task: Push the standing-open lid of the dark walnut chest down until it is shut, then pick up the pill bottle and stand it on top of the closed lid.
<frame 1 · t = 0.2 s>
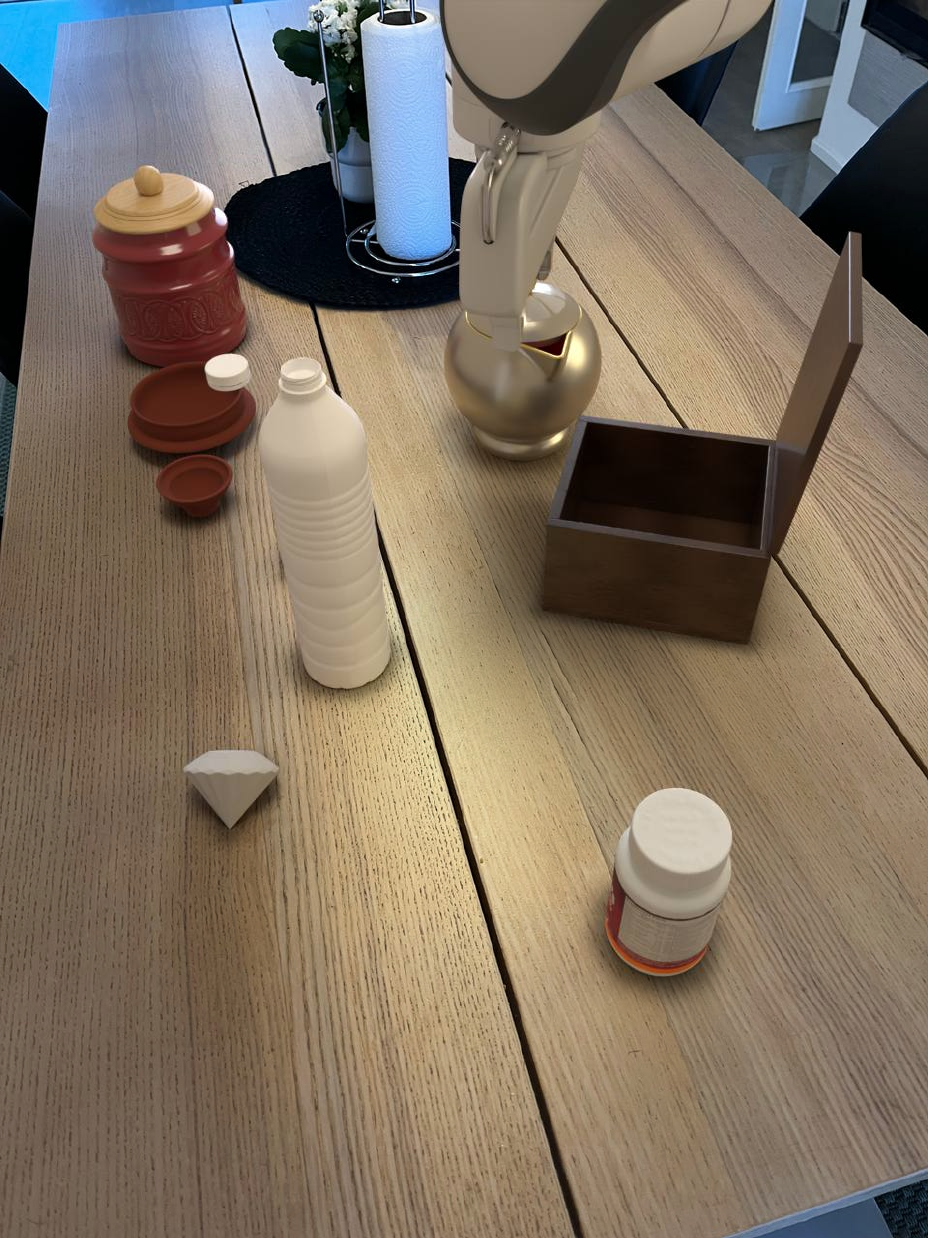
hand: (523, 308, 70), 21 cm above the table, tool pointing down, fingers open, 8 cm apart
pottery: (199, 459, 93), on the table
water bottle: (332, 658, 76), on the table
gemstone: (239, 797, 68), on the table
teapot: (514, 428, 95), on the table
pill bottle: (656, 932, 61), on the table
lid: (813, 396, 67), point 17 cm above the table, hinge at 95.0°
chest: (654, 567, 82), on the table
kitchen canister: (187, 337, 107), on the table
bracelet: (315, 557, 84), on the table
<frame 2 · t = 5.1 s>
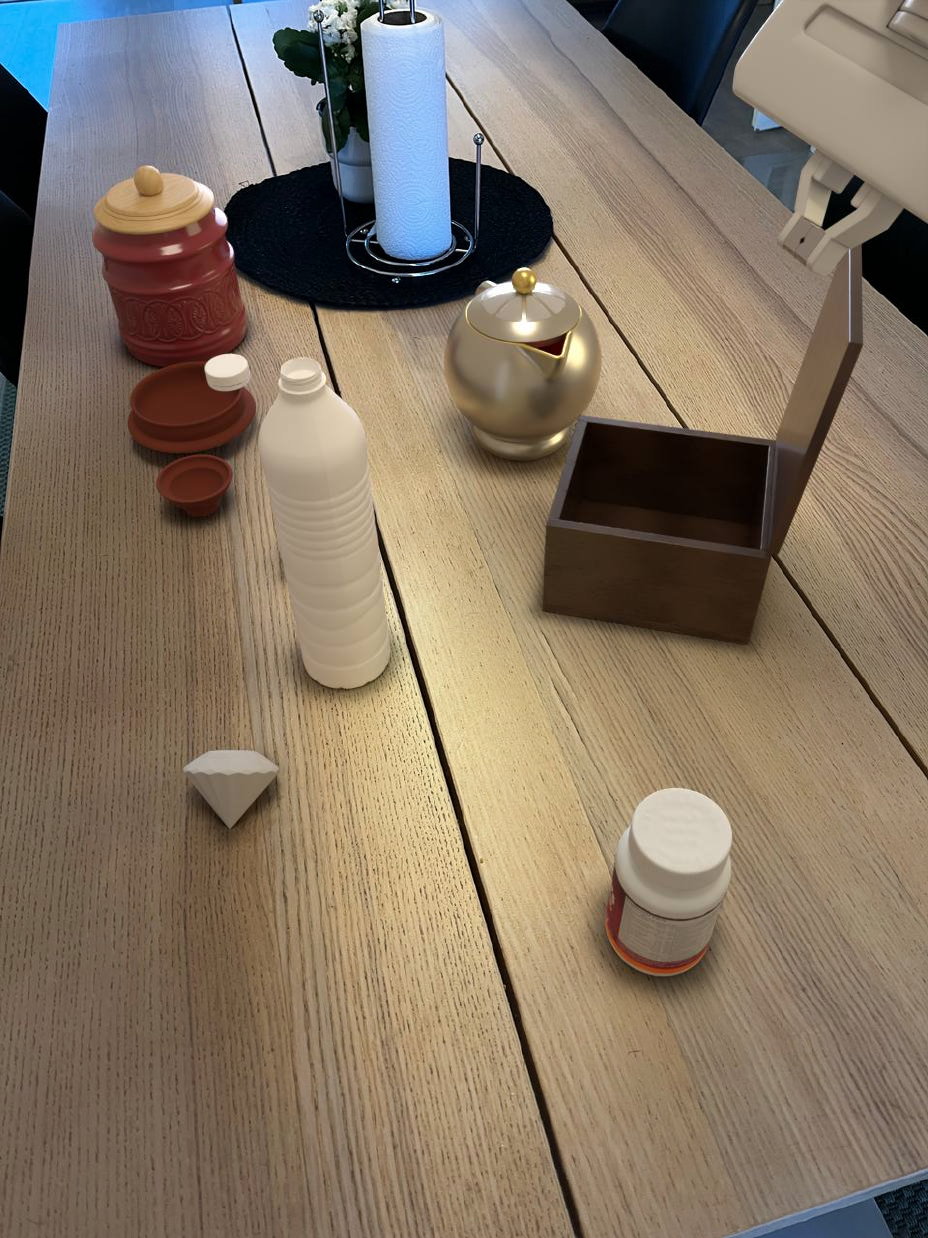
hand: (799, 260, 54), 30 cm above the table, tool tilted 30°, fingers closed
nothing on the table moved.
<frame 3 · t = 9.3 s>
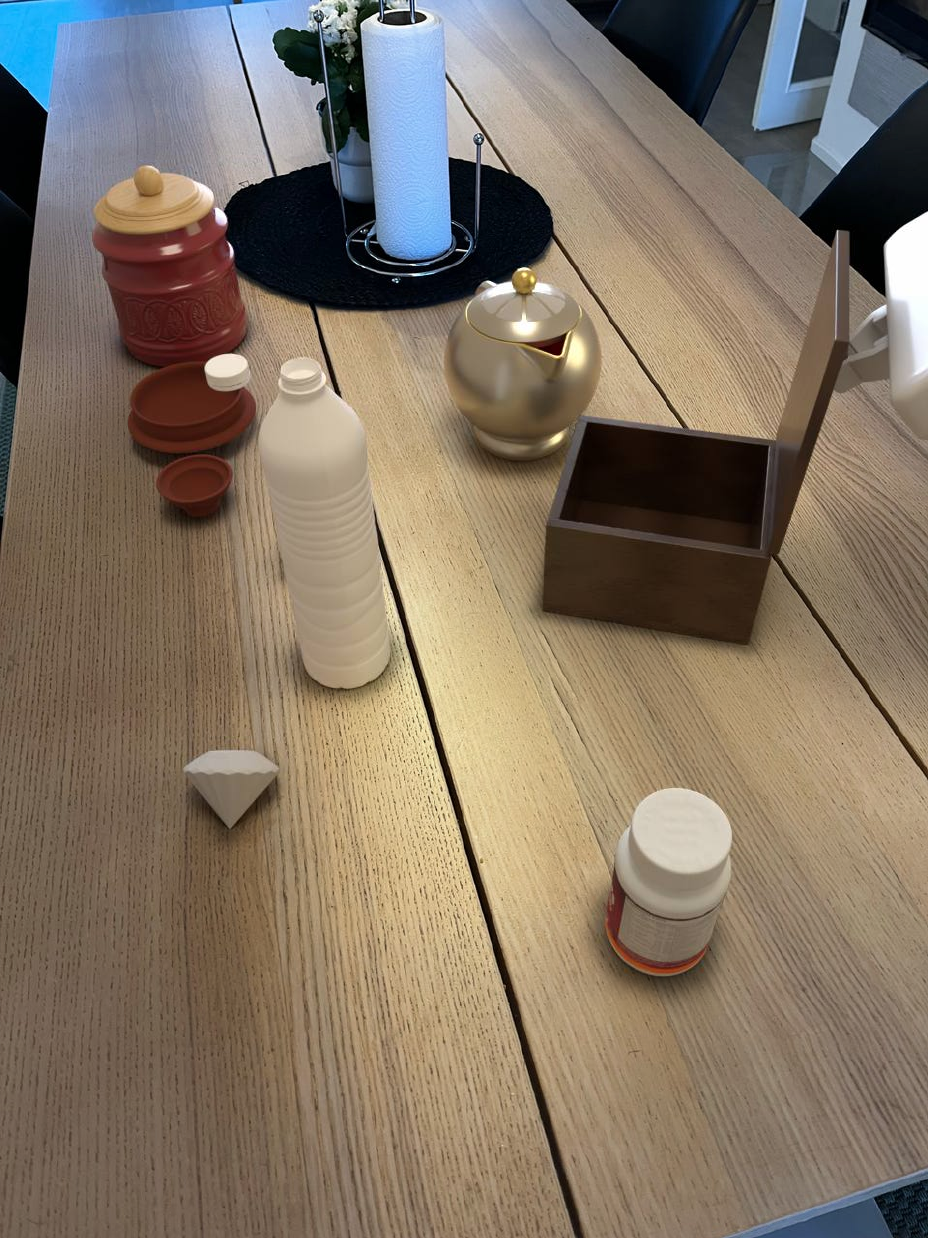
hand: (831, 373, 66), 19 cm above the table, tool tilted 45°, fingers closed, pressing on lid
lid: (807, 395, 68), point 17 cm above the table, hinge at 92.3°, touching gripper
everything else where it was.
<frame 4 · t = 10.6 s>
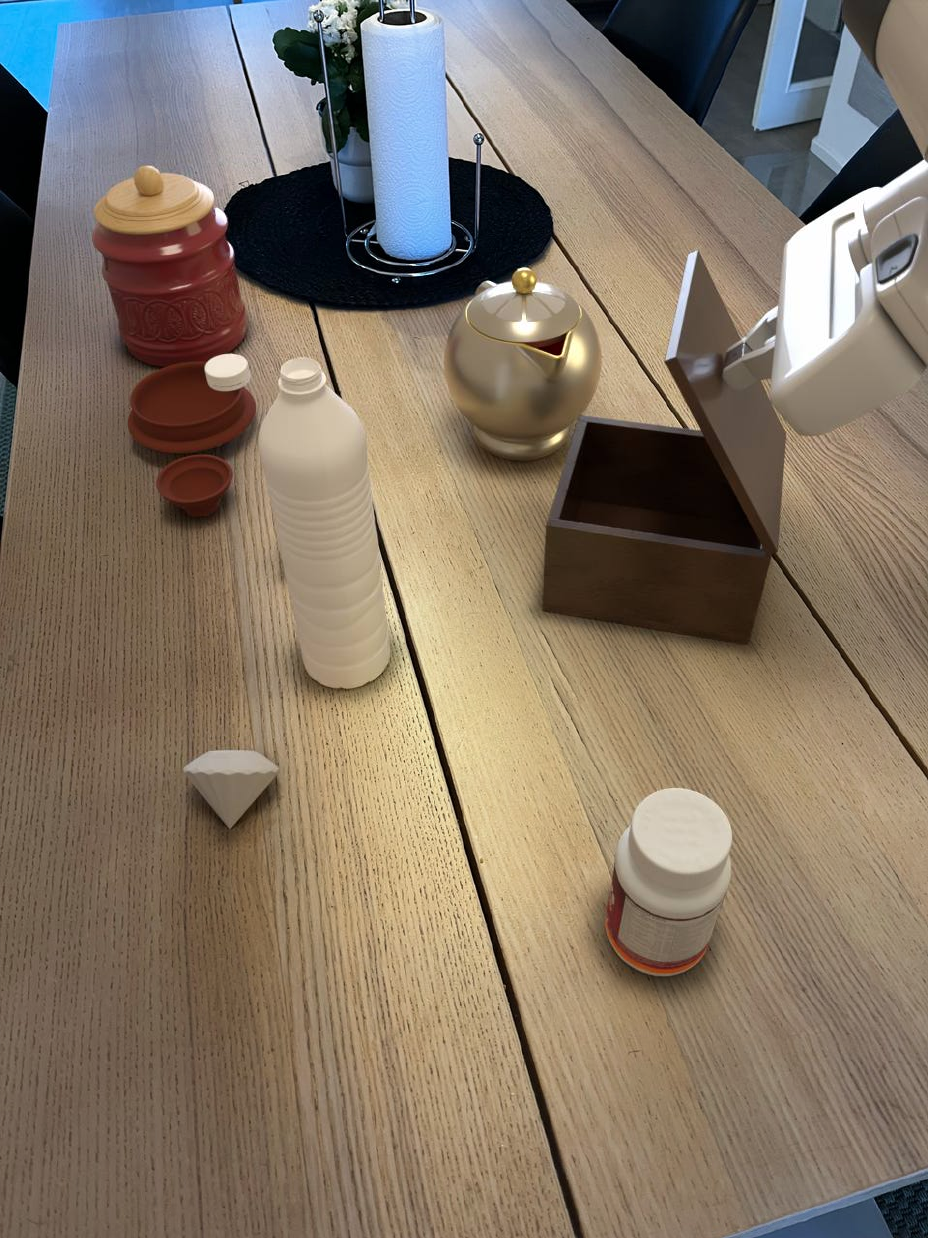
hand: (729, 372, 68), 18 cm above the table, tool tilted 45°, fingers closed
lid: (732, 402, 69), point 16 cm above the table, hinge at 58.2°, touching gripper
everything else where it was.
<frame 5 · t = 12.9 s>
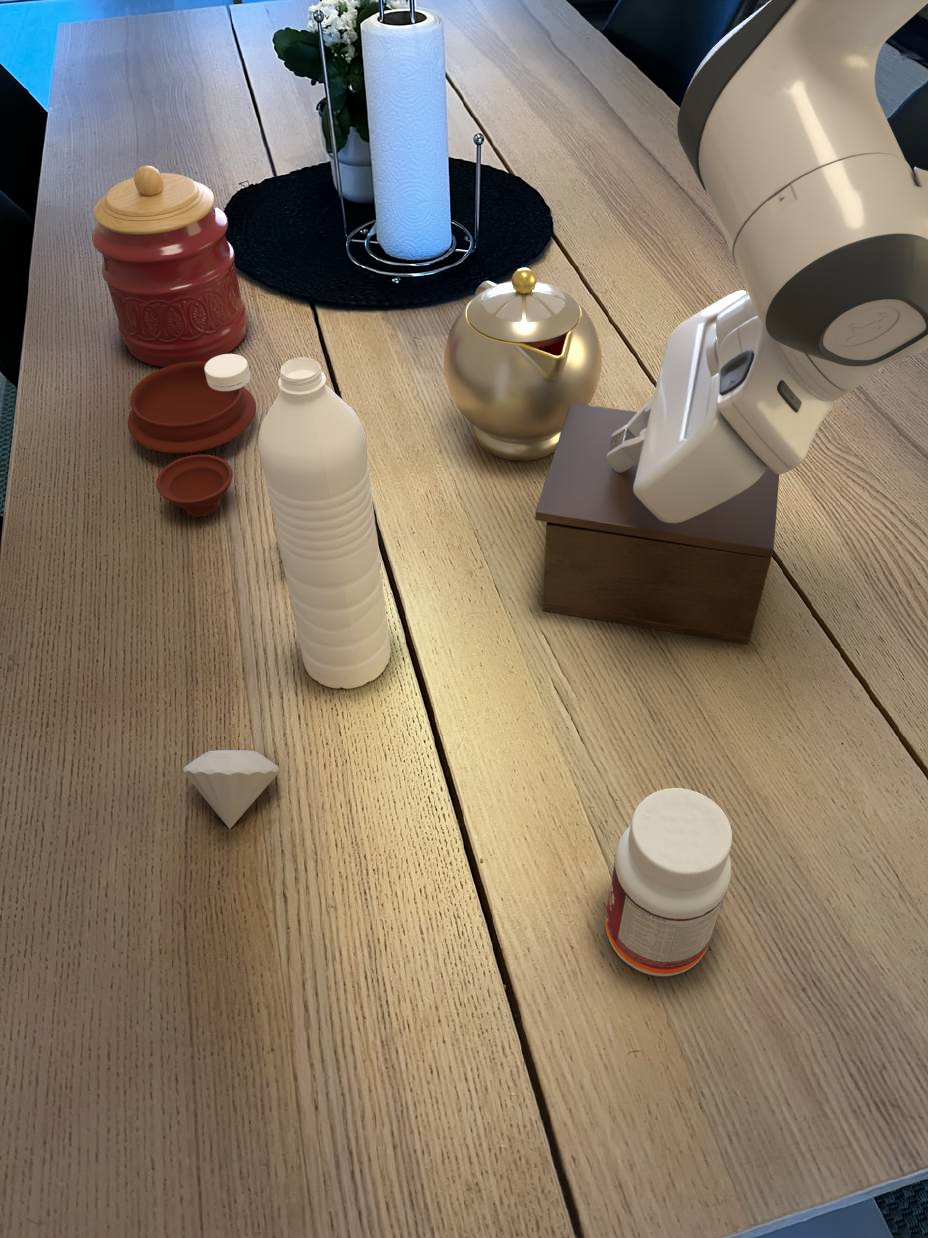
hand: (614, 454, 75), 10 cm above the table, tool tilted 45°, fingers closed, pressing on lid
lid: (663, 474, 75), point 9 cm above the table, hinge at 0.7°, touching gripper
everything else where it was.
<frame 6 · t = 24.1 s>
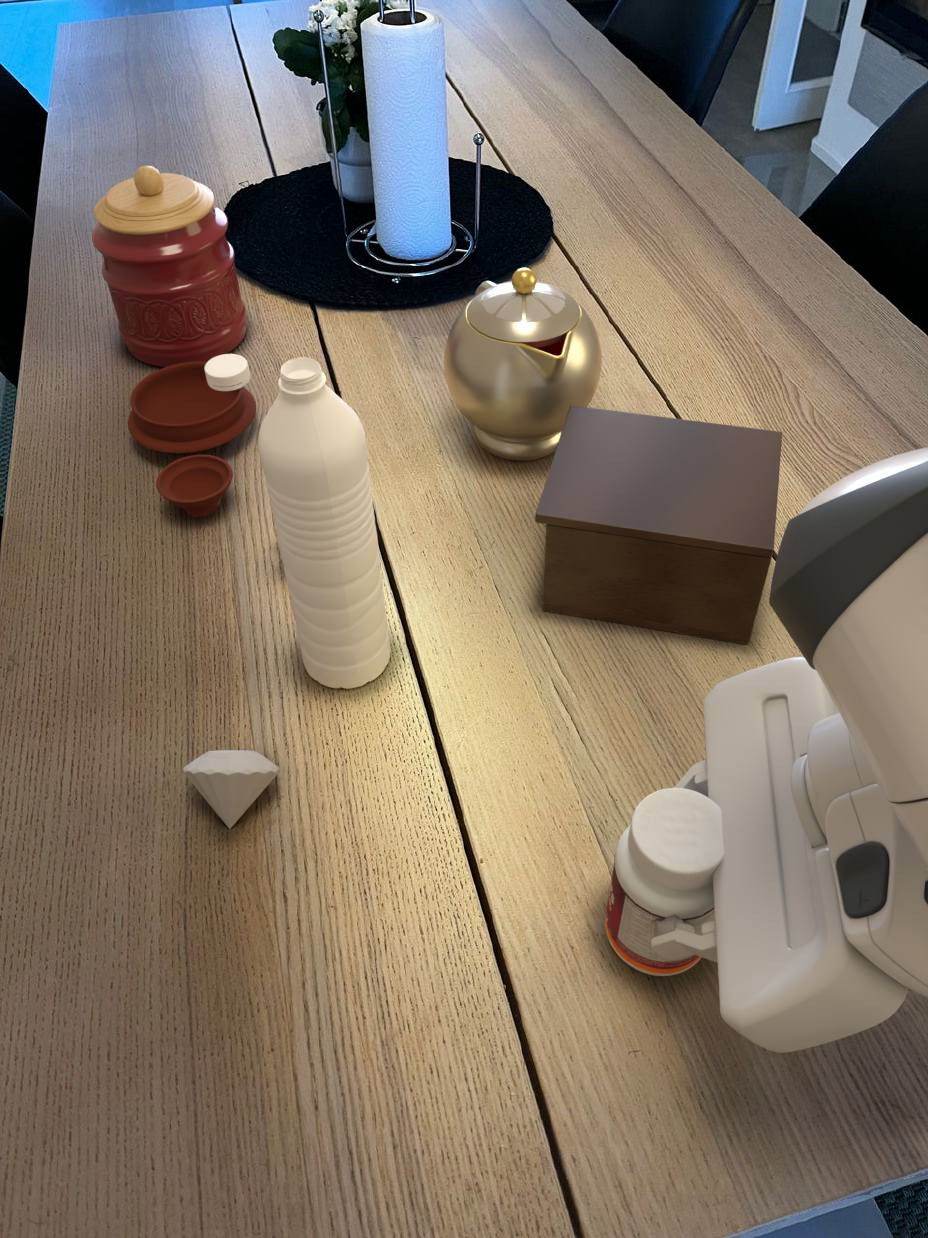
hand: (657, 879, 56), 6 cm above the table, tool tilted 45°, fingers closed on pill bottle, 6 cm apart
pill bottle: (655, 931, 61), on the table, touching gripper
lid: (663, 475, 75), point 9 cm above the table, hinge at -0.1°
everything else where it was.
when the fingers open (16 cm above the table, at t = 33.0 s): pill bottle stays where it is, resting on lid.
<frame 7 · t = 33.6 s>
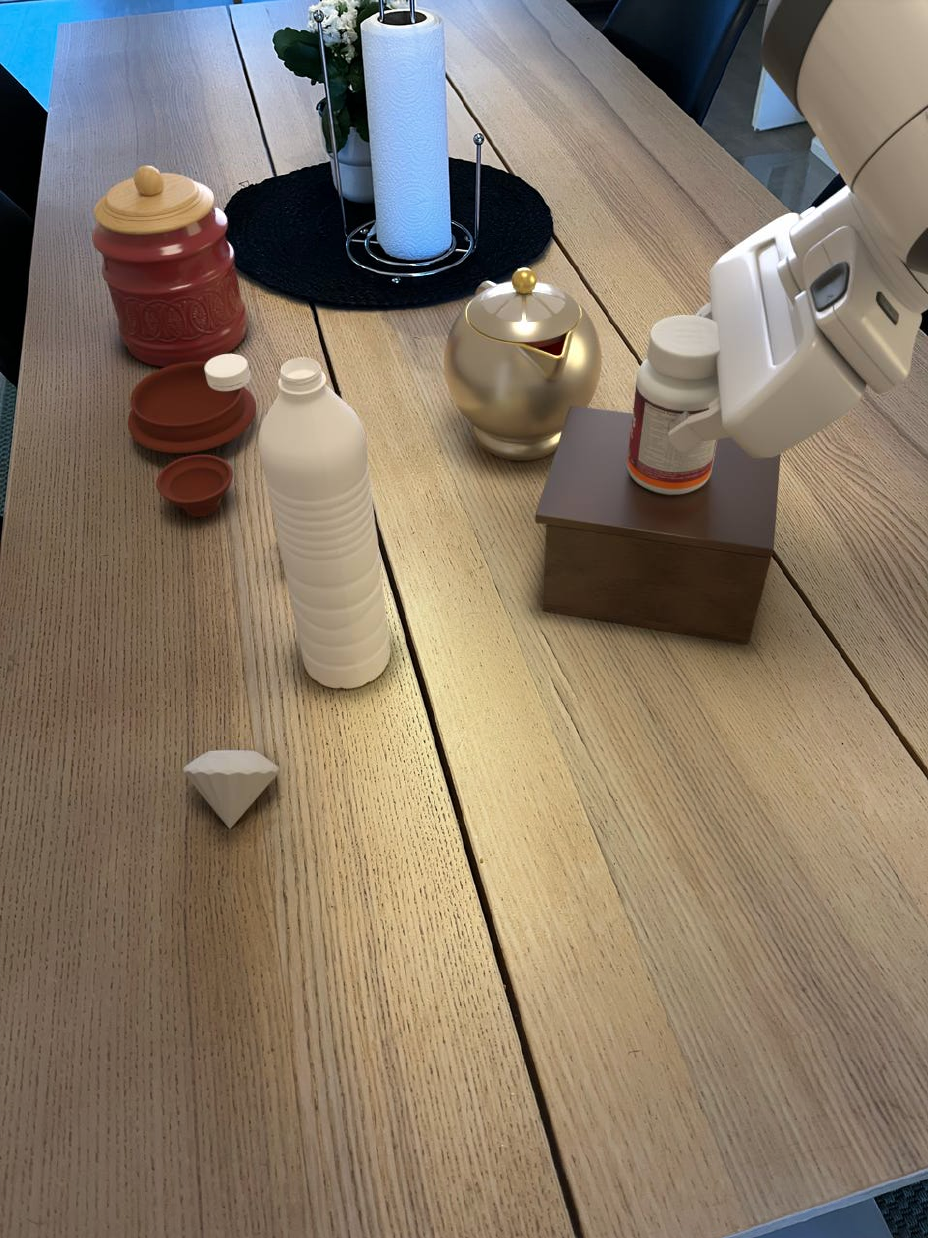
hand: (671, 398, 70), 16 cm above the table, tool tilted 45°, fingers open, 8 cm apart
pill bottle: (668, 473, 75), point 9 cm above the table, touching lid
lid: (663, 475, 75), point 9 cm above the table, hinge at -0.2°, touching chest, pill bottle
everything else where it was.
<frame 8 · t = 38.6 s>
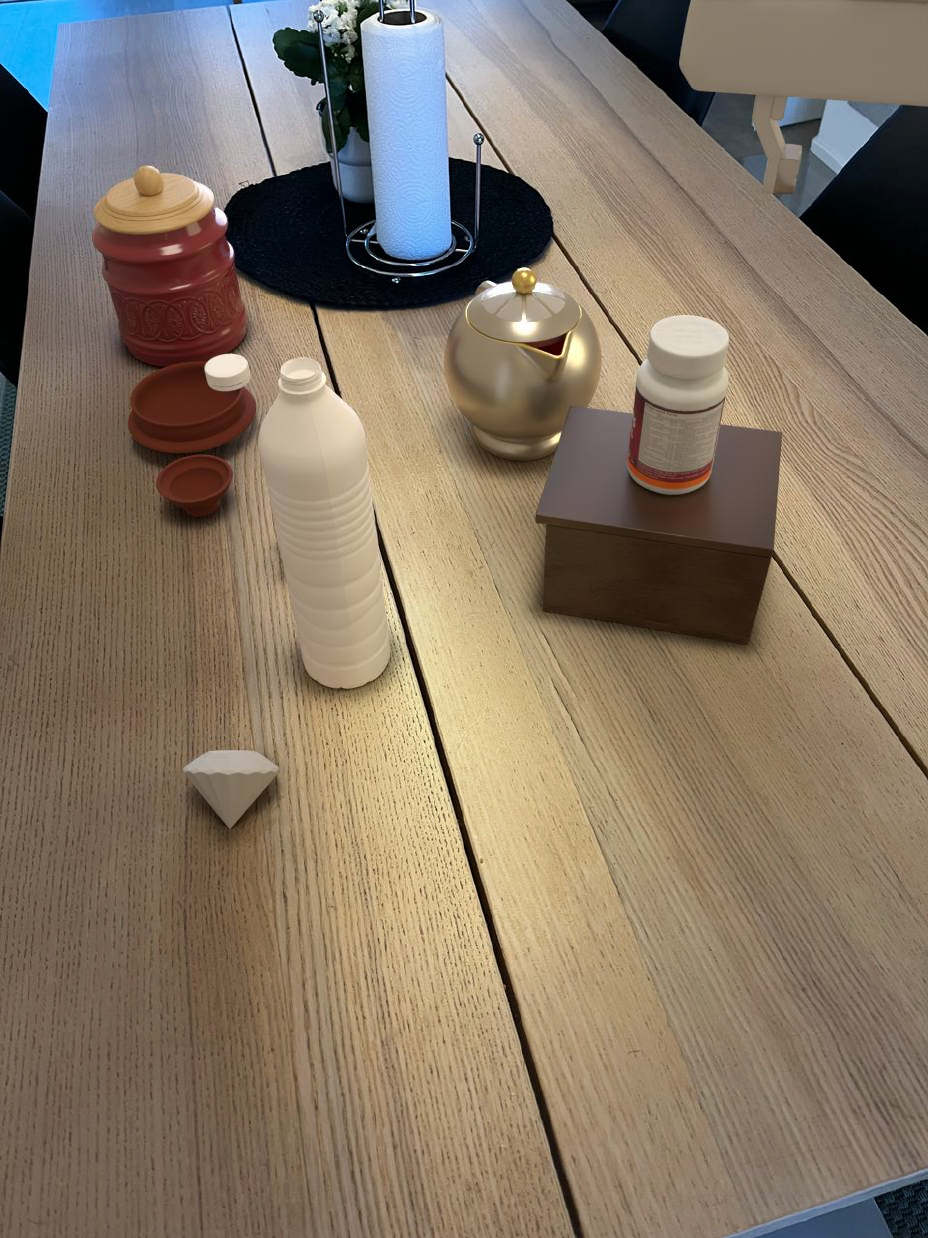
hand: (880, 197, 48), 35 cm above the table, tool pointing down, fingers open, 8 cm apart
nothing on the table moved.
at the end: lid at +0° (first picture: +95°); pill bottle inside the target area on the chest (0.1 cm from its centre), point 9.4 cm above the chest's base; pill bottle tilted 0° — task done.
